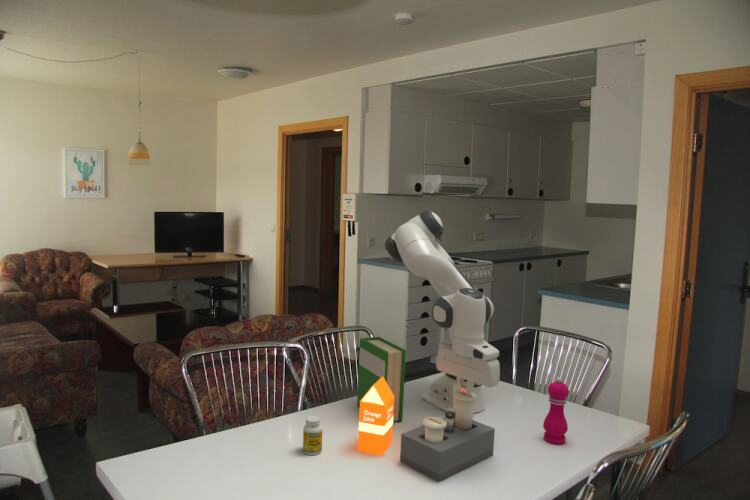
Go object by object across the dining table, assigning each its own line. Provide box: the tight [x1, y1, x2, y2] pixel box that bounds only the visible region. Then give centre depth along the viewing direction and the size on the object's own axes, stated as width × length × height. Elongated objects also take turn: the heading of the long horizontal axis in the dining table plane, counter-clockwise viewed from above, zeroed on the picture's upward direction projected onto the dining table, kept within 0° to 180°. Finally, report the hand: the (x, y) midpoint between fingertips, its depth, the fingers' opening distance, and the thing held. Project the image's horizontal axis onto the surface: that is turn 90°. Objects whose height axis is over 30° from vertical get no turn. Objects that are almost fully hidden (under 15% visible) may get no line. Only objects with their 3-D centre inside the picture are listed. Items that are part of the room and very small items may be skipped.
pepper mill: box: [542, 376, 570, 445], centre depth 174 cm, size 7×7×20 cm
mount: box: [399, 416, 496, 483], centre depth 159 cm, size 14×24×8 cm, turn 134°
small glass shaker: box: [444, 411, 456, 433], centre depth 158 cm, size 3×3×5 cm
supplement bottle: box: [302, 415, 323, 456], centre depth 159 cm, size 5×5×10 cm
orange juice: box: [357, 376, 394, 456], centre depth 163 cm, size 8×9×20 cm
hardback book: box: [356, 336, 407, 424], centre depth 188 cm, size 18×7×24 cm, turn 29°
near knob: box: [422, 416, 447, 444], centre depth 154 cm, size 6×6×10 cm
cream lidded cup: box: [454, 391, 477, 432], centre depth 162 cm, size 6×6×10 cm
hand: (465, 393), depth 162 cm, fingers closed, pressing on cream lidded cup
